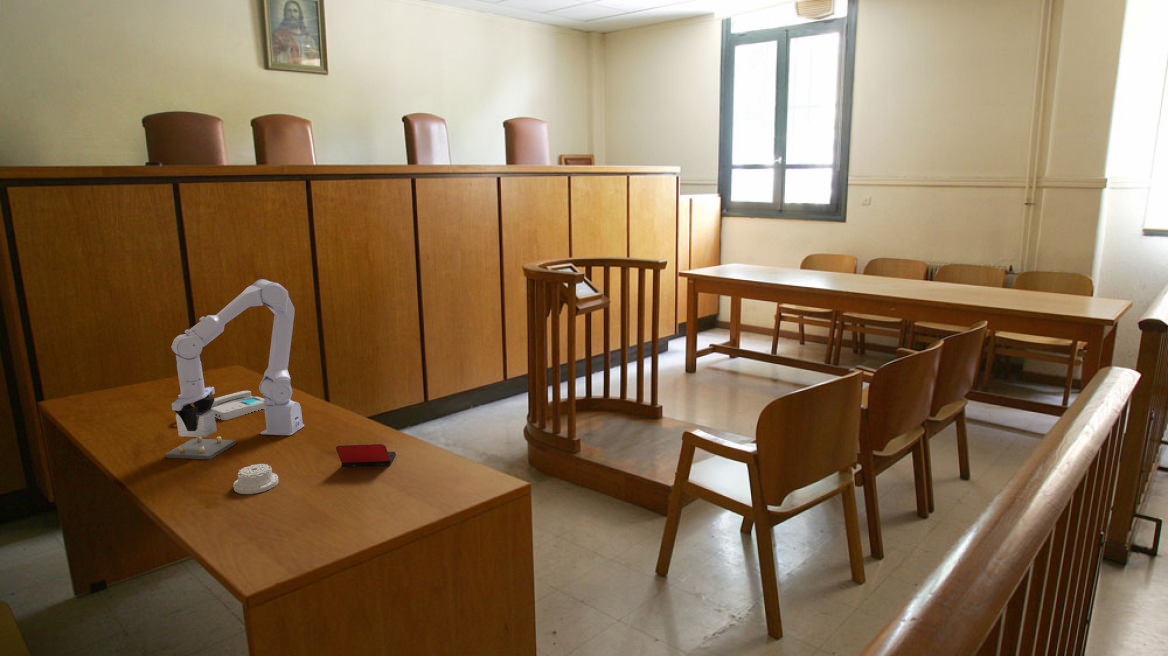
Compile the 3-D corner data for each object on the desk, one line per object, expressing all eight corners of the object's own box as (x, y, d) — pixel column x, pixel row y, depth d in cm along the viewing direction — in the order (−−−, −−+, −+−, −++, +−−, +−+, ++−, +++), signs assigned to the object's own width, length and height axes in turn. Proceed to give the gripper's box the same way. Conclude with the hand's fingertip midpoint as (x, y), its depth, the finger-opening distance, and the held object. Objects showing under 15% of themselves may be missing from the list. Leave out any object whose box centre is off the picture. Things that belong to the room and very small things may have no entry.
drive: (216, 430, 197) (213, 409, 196) (205, 437, 193) (202, 415, 191) (190, 430, 198) (187, 408, 197) (178, 436, 194) (175, 414, 192)
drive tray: (235, 443, 201) (234, 435, 200) (210, 459, 190) (209, 450, 190) (193, 441, 203) (192, 433, 202) (165, 457, 192) (164, 448, 192)
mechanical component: (224, 493, 171) (261, 496, 169) (222, 476, 170) (259, 479, 168) (251, 476, 180) (287, 478, 178) (249, 459, 179) (285, 462, 177)
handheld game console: (397, 455, 192) (394, 428, 190) (387, 472, 181) (385, 444, 179) (349, 456, 191) (347, 430, 190) (337, 473, 181) (334, 445, 179)
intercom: (169, 409, 218) (247, 388, 238) (171, 422, 219) (249, 400, 239) (190, 417, 211) (269, 395, 230) (192, 431, 212) (271, 407, 231)
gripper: (195, 371, 199) (202, 417, 202) (158, 386, 185) (165, 436, 189) (218, 371, 198) (225, 418, 201) (183, 387, 184) (190, 437, 187)
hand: (198, 427), depth 195 cm, fingers closed on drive, 5 cm apart
